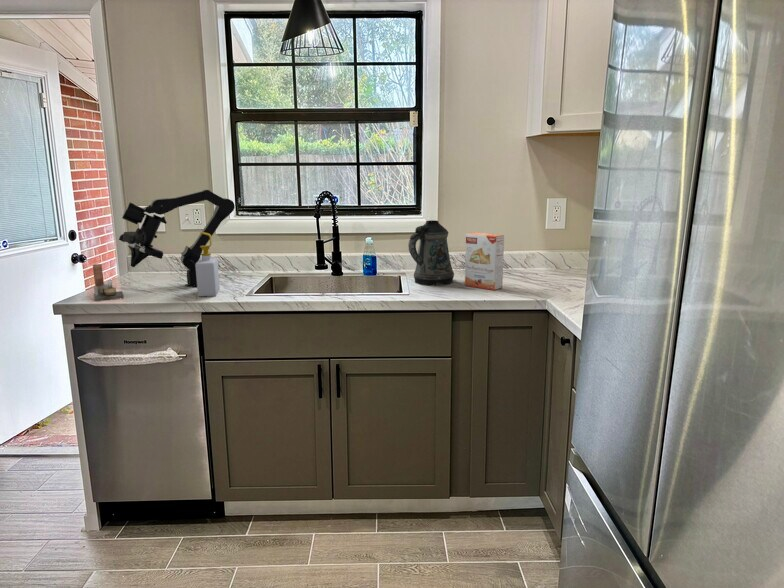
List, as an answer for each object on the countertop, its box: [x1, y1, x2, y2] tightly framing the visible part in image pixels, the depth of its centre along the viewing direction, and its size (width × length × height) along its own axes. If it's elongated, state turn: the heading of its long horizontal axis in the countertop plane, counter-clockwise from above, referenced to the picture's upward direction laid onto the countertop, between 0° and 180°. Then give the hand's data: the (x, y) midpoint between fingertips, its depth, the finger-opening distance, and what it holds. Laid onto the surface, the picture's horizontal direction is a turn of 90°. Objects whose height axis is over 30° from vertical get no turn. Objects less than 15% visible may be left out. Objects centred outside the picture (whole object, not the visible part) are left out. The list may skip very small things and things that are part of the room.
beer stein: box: [407, 219, 455, 287], centre depth 231 cm, size 16×19×25 cm
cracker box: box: [464, 231, 505, 291], centre depth 221 cm, size 14×6×21 cm, turn 47°
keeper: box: [93, 280, 113, 296], centre depth 211 cm, size 6×7×6 cm
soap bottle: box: [195, 231, 221, 297], centre depth 215 cm, size 12×7×23 cm, turn 10°
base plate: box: [93, 290, 125, 302], centre depth 212 cm, size 10×9×1 cm
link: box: [92, 263, 117, 295], centre depth 212 cm, size 12×4×10 cm, turn 50°
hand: (132, 266), depth 220 cm, fingers closed
